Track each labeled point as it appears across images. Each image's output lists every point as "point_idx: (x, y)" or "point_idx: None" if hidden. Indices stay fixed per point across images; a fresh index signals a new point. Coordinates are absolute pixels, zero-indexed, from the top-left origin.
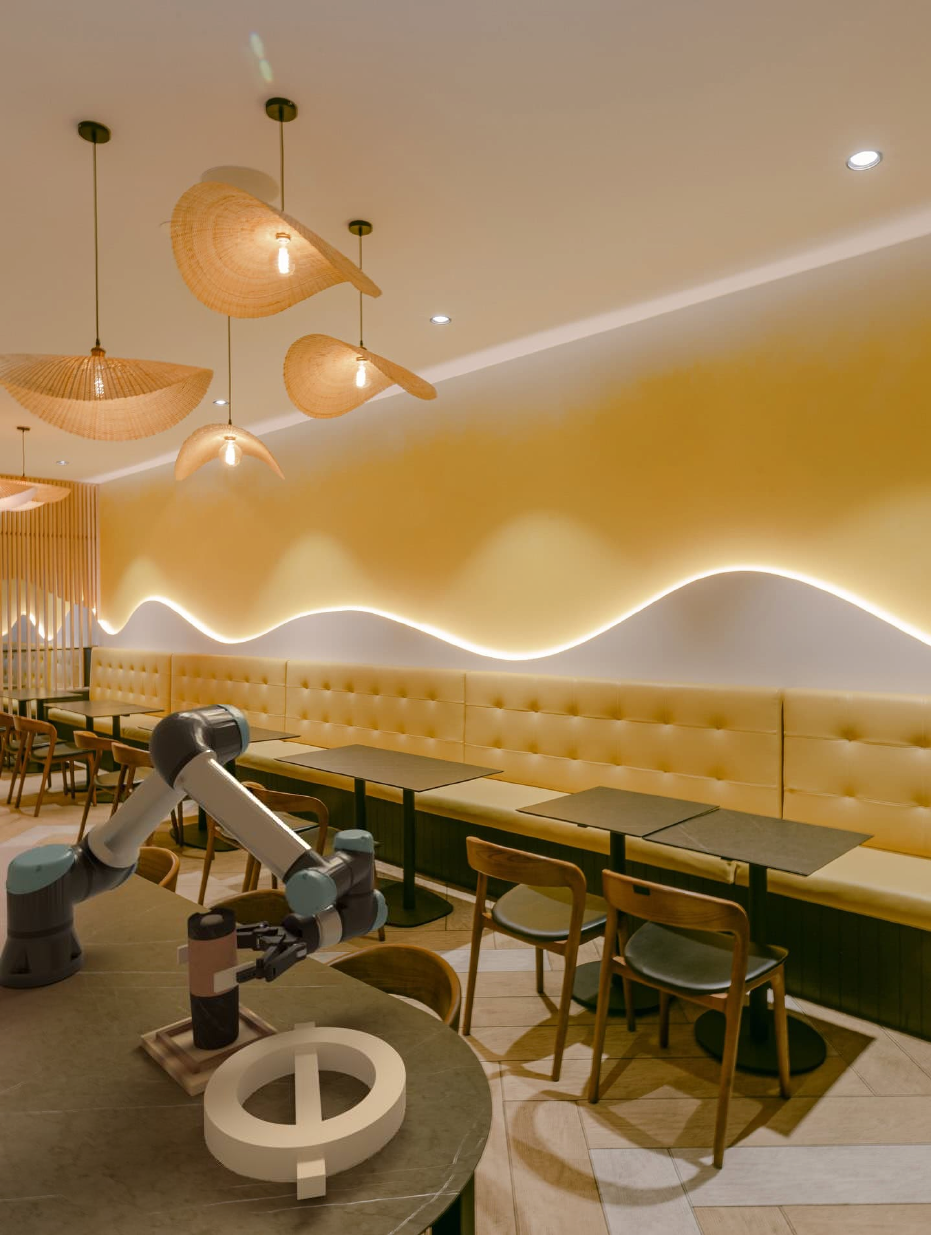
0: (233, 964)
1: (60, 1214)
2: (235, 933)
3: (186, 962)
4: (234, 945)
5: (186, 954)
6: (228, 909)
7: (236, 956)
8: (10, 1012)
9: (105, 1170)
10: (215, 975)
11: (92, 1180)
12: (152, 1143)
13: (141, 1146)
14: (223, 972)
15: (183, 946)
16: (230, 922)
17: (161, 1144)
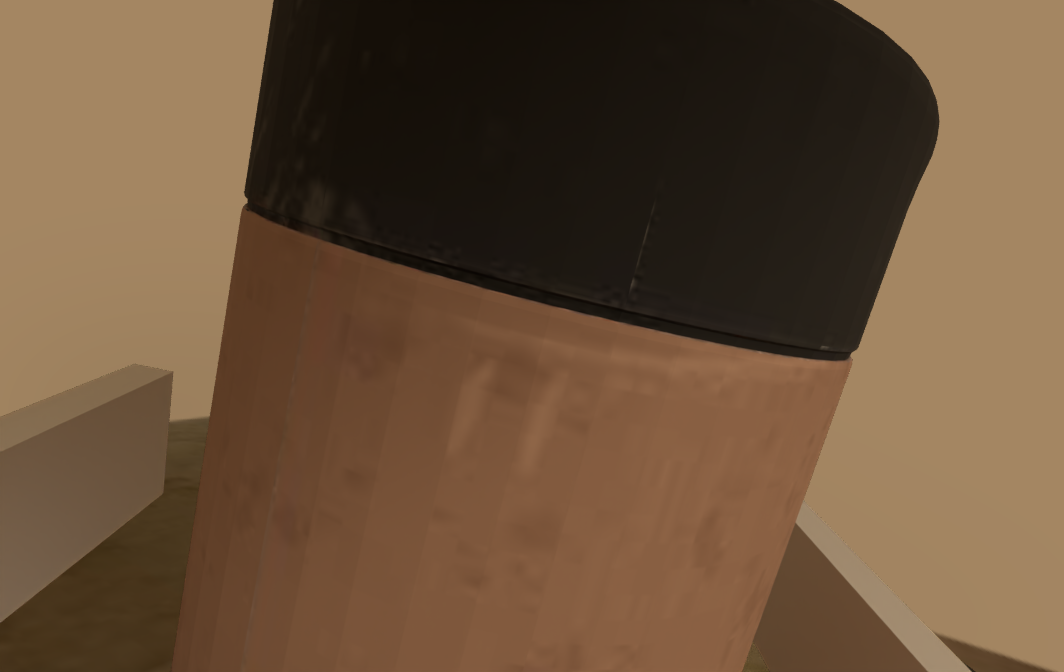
0: (176, 641)
1: (189, 429)
2: (265, 294)
3: (755, 643)
4: (219, 445)
5: (777, 586)
6: (783, 10)
7: (203, 664)
8: (1019, 660)
9: (189, 483)
10: (144, 368)
11: (195, 467)
12: (128, 551)
13: (154, 537)
14: (88, 383)
15: (808, 519)
16: (271, 18)
17: (93, 557)
